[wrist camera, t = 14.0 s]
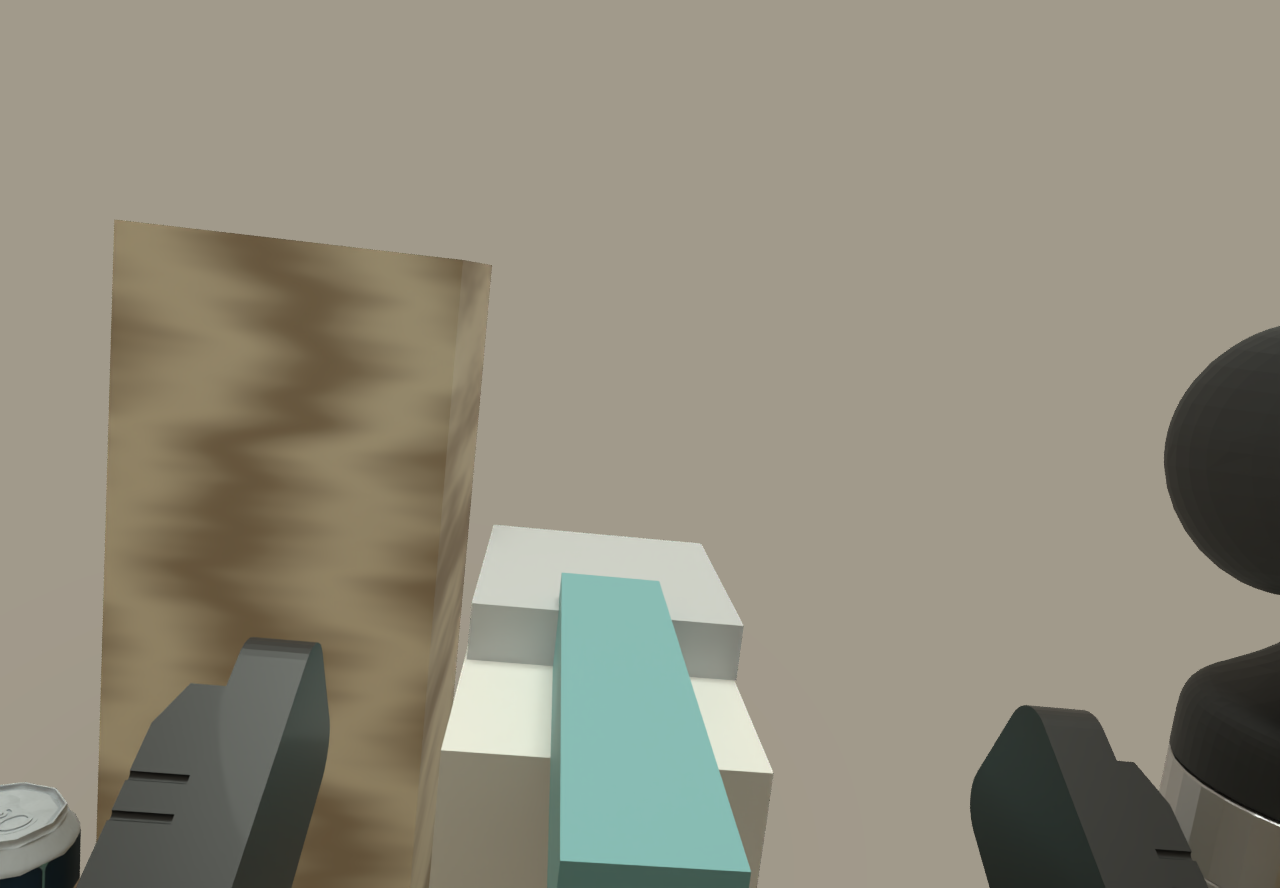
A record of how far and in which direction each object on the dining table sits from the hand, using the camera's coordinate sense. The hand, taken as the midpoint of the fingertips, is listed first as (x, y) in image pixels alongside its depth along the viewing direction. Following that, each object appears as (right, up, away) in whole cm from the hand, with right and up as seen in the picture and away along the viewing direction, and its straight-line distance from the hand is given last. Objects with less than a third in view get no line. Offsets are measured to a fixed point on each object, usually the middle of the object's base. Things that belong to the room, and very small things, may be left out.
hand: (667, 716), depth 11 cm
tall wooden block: (-15, -21, +28) cm, 38 cm away
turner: (-1, -3, +12) cm, 12 cm away
